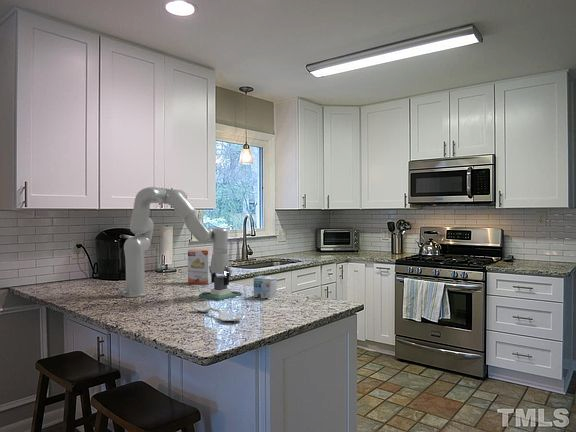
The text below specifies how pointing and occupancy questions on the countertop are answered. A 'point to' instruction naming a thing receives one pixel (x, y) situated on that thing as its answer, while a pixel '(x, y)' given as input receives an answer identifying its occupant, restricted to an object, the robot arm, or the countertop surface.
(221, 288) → the plug
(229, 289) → the board
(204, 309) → the spoon
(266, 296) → the light bulb box
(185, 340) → the countertop surface
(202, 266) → the cracker box
